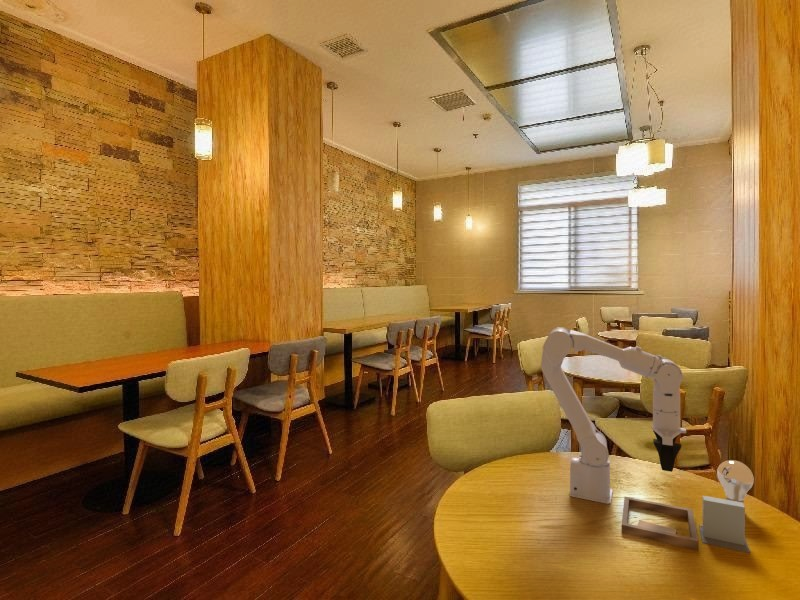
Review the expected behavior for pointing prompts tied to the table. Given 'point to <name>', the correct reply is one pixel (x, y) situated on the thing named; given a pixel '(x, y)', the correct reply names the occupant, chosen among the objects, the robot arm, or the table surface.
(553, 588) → the table surface
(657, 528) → the offcut upper
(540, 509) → the table surface
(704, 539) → the mat
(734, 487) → the light bulb
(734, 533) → the light grey slab
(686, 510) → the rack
